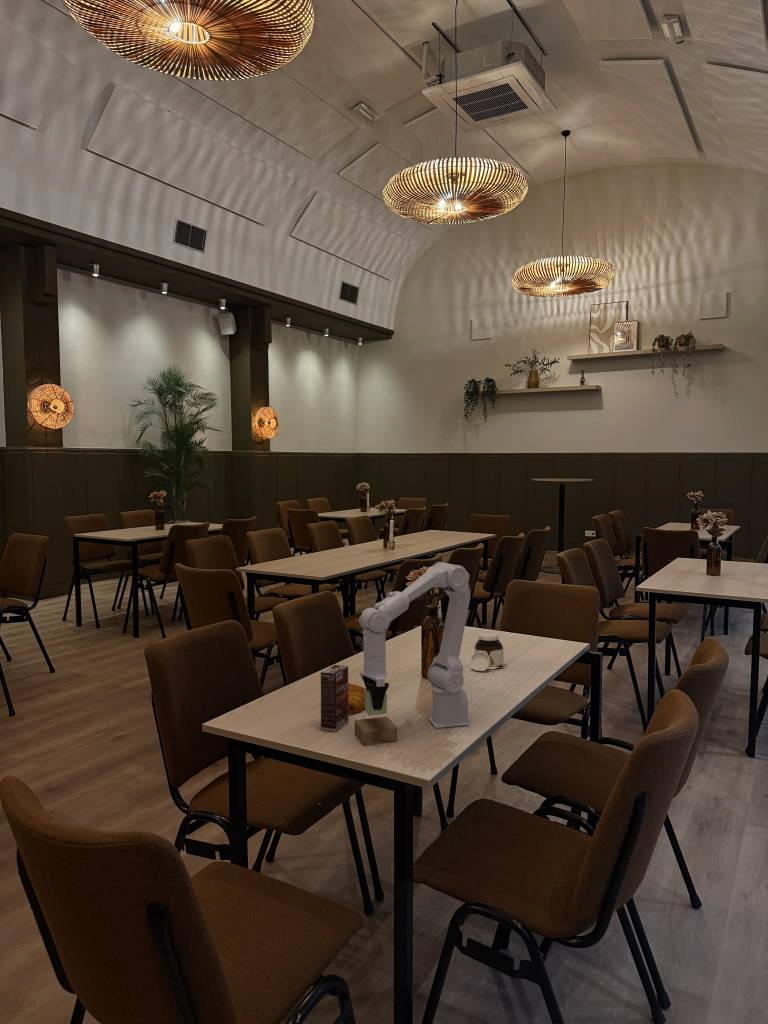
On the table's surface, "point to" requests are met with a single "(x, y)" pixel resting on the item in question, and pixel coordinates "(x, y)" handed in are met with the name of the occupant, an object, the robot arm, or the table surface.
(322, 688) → the supplement box
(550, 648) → the table surface
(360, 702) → the croissant
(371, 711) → the cube
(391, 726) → the block
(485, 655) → the spread jar
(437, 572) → the robot arm
